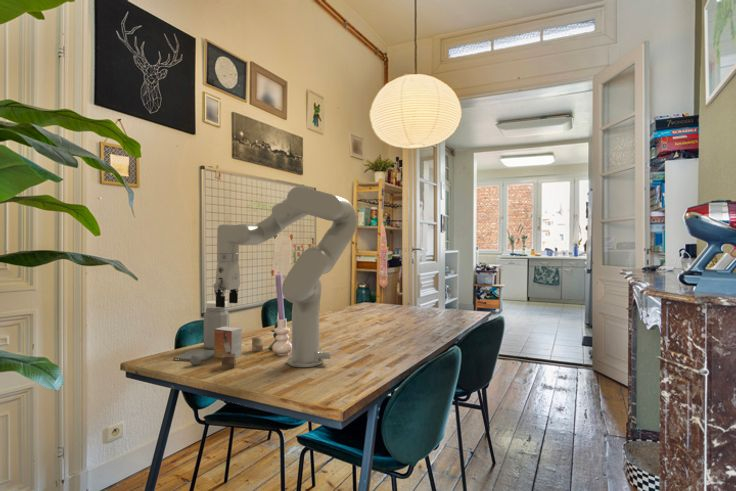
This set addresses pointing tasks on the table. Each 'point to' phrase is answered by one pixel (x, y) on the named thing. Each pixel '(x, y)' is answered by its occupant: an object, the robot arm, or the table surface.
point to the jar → (214, 321)
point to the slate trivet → (203, 353)
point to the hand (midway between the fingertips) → (227, 305)
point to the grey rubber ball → (195, 359)
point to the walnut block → (228, 361)
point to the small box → (227, 341)
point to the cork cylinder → (257, 344)
